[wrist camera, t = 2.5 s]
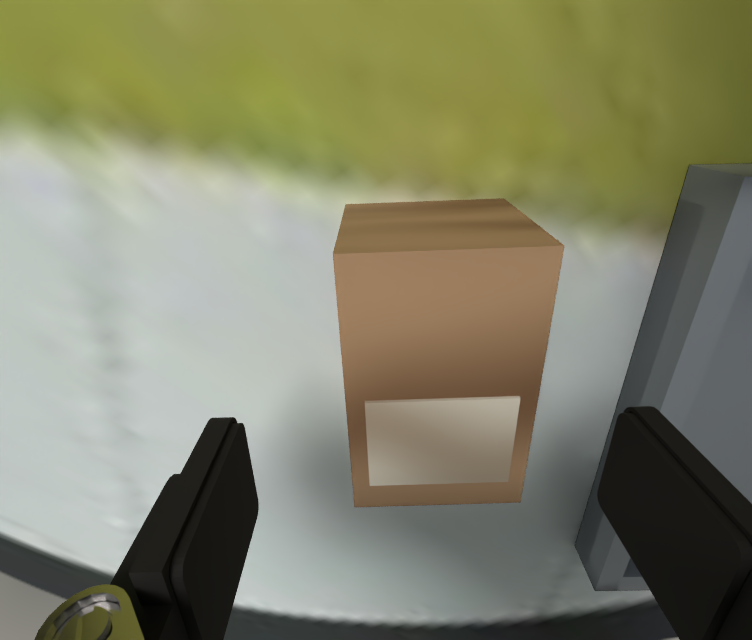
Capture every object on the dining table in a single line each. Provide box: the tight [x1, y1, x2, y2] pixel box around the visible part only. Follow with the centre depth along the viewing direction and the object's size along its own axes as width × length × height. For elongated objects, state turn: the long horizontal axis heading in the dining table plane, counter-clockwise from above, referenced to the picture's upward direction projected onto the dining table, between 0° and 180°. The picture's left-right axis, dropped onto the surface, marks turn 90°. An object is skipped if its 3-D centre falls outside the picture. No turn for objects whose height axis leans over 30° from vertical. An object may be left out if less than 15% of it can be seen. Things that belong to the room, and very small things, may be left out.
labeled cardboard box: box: [333, 199, 564, 507], centre depth 13 cm, size 8×5×5 cm, turn 2°
